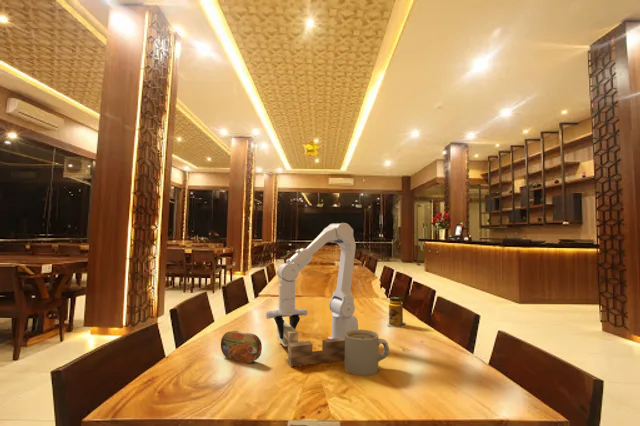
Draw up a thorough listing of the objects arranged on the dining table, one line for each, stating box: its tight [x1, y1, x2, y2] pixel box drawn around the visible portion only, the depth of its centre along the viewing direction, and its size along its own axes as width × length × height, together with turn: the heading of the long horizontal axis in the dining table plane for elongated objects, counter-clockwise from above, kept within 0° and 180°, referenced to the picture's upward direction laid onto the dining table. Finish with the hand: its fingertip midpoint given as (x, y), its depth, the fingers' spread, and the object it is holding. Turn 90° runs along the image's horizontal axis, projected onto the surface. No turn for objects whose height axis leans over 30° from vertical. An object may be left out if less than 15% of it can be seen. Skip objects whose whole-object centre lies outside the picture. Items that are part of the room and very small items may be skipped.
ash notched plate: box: [276, 319, 299, 349], centre depth 112 cm, size 3×16×6 cm, turn 22°
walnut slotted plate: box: [287, 338, 345, 368], centre depth 101 cm, size 18×3×6 cm, turn 112°
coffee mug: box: [344, 328, 390, 377], centre depth 97 cm, size 13×10×10 cm
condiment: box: [386, 296, 406, 328], centre depth 145 cm, size 7×8×12 cm
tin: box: [220, 330, 263, 364], centre depth 102 cm, size 15×3×8 cm, turn 62°
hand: (286, 337), depth 113 cm, fingers closed on ash notched plate, 3 cm apart
